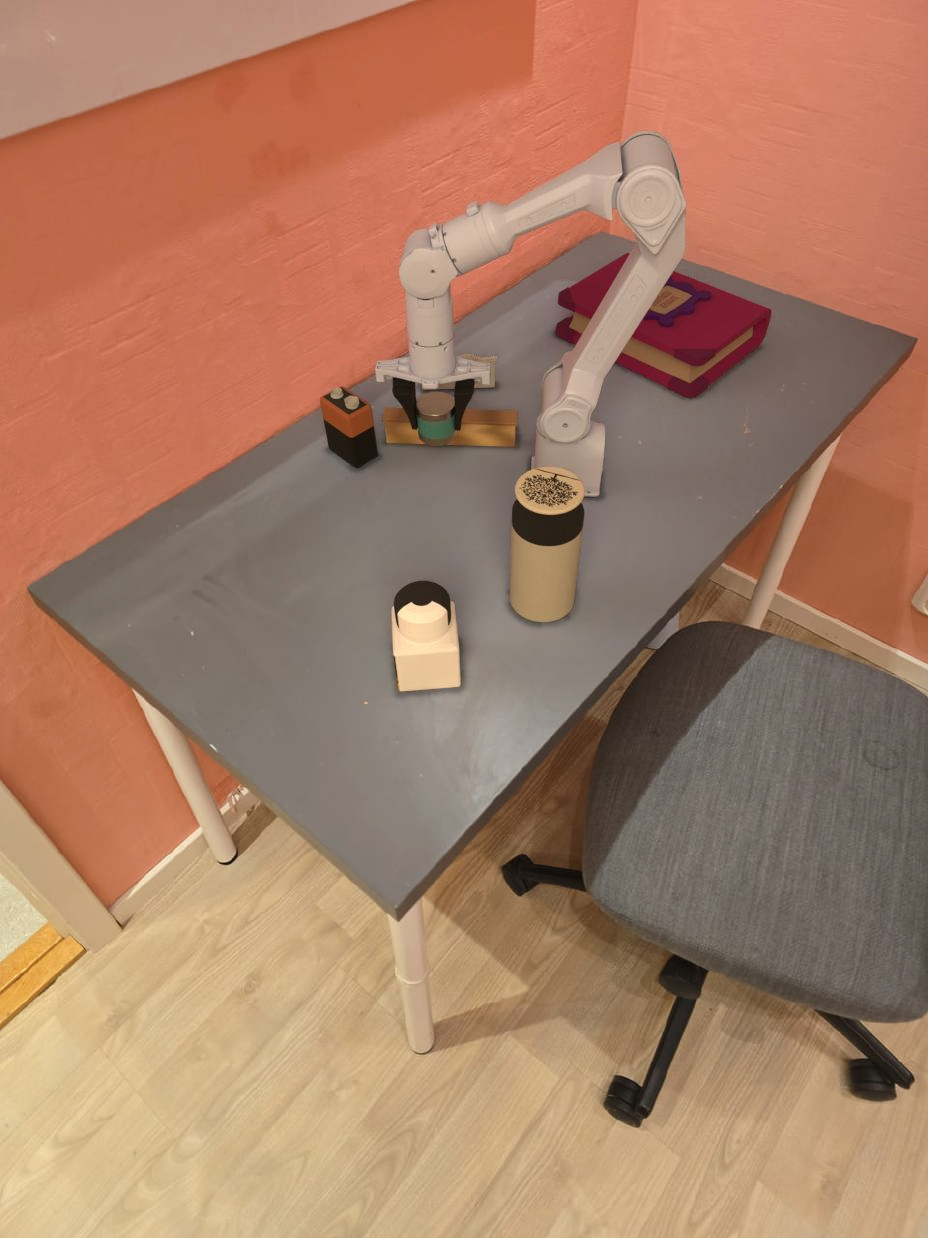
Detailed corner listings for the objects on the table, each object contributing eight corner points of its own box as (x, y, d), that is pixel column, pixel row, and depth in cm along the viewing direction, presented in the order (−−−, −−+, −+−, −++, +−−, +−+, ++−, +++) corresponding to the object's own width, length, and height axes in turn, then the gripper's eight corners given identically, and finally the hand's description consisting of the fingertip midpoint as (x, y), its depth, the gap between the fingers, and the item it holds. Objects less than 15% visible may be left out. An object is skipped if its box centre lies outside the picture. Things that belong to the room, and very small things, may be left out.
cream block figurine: (396, 643, 100) (386, 575, 91) (456, 639, 100) (452, 569, 91) (398, 693, 95) (388, 625, 86) (461, 687, 95) (458, 620, 86)
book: (627, 286, 151) (632, 244, 146) (764, 343, 138) (776, 300, 133) (551, 334, 142) (554, 291, 136) (691, 400, 129) (701, 356, 123)
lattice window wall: (420, 391, 132) (418, 358, 128) (420, 385, 133) (418, 352, 129) (496, 388, 132) (496, 355, 128) (496, 382, 133) (496, 349, 129)
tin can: (458, 422, 116) (456, 391, 112) (454, 446, 112) (453, 415, 108) (420, 421, 116) (417, 390, 112) (416, 445, 113) (413, 414, 109)
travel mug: (555, 633, 100) (565, 523, 86) (497, 607, 103) (498, 497, 89) (585, 590, 104) (599, 479, 91) (529, 567, 107) (535, 455, 94)
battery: (356, 470, 120) (347, 412, 113) (327, 449, 124) (316, 391, 116) (379, 456, 122) (372, 398, 115) (350, 436, 125) (341, 378, 118)
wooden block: (517, 428, 126) (518, 404, 122) (516, 448, 123) (516, 423, 119) (389, 425, 127) (386, 400, 124) (384, 444, 124) (381, 419, 121)
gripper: (367, 351, 101) (379, 442, 111) (488, 353, 100) (488, 445, 110) (375, 319, 105) (386, 410, 115) (491, 321, 104) (491, 412, 115)
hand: (436, 425), depth 113 cm, fingers closed on tin can, 5 cm apart
